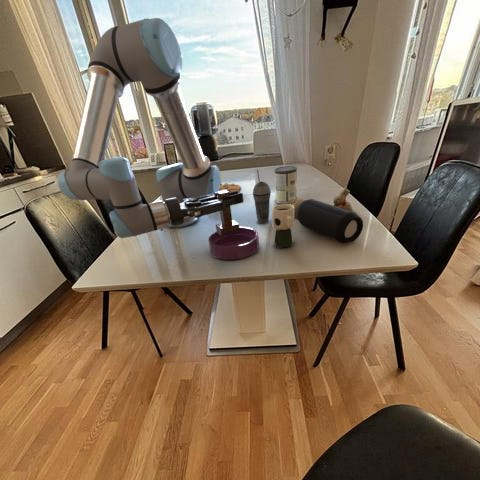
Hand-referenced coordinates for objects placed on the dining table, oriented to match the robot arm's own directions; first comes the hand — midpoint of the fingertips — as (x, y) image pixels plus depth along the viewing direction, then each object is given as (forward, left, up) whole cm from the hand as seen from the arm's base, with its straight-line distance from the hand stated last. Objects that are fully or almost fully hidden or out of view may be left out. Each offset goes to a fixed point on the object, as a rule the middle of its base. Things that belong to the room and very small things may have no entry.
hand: (240, 196), depth 88 cm
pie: (-50, +50, -18) cm, 73 cm away
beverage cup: (-8, +25, -18) cm, 32 cm away
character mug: (+11, +8, -18) cm, 23 cm away
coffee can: (-13, +54, -18) cm, 59 cm away
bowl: (-3, -2, -18) cm, 18 cm away
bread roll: (+2, +38, -18) cm, 42 cm away
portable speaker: (+20, +23, -18) cm, 35 cm away
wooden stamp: (-3, -5, -10) cm, 11 cm away
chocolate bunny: (+18, +46, -18) cm, 53 cm away
